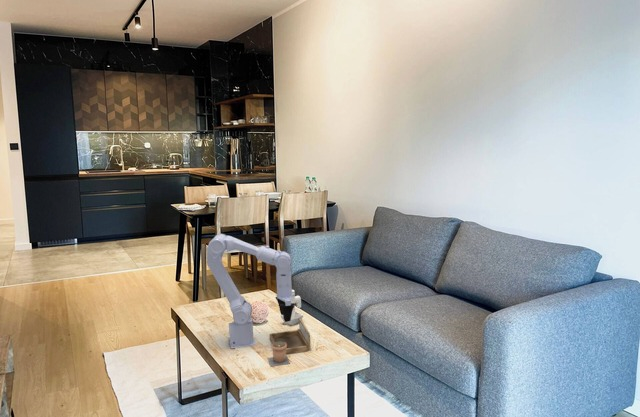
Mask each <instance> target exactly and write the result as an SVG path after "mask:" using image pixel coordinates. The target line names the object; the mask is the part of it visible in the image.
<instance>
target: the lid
mask: <svg viewBox="0 0 640 417" xmlns="http://www.w3.org/2000/svg"><path fill="white" fill-rule="evenodd" d="M298 326H299V328H298V329H299V330H300V331H301V333H302V335H303V336H304V338H305V340H306V342H307V343H308V351H307V352H309V351H310V346H311V335H310V334H311V333H310V331H309V329H308V328H307V326H306V325H305V322H304V321H303V319H302V320H301V318H299V324H298Z"/></svg>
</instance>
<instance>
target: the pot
mask: <svg viewBox="0 0 640 417" xmlns="http://www.w3.org/2000/svg"><path fill="white" fill-rule="evenodd" d="M270 346H271V349H272V357H273V361H274V362H276V363H282V362H285V361H286V348H287V344H286V343H285V342H275V343H273V344H272V343H271V344H270Z"/></svg>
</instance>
